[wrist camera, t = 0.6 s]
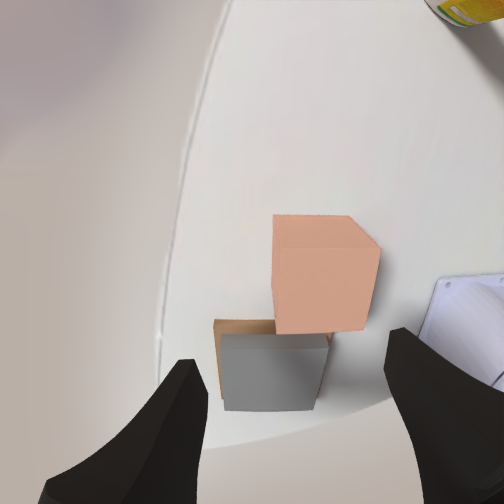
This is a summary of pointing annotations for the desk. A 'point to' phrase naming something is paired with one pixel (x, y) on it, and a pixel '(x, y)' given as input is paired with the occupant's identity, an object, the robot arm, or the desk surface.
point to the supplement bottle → (468, 11)
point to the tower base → (246, 328)
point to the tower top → (271, 371)
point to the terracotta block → (321, 273)
